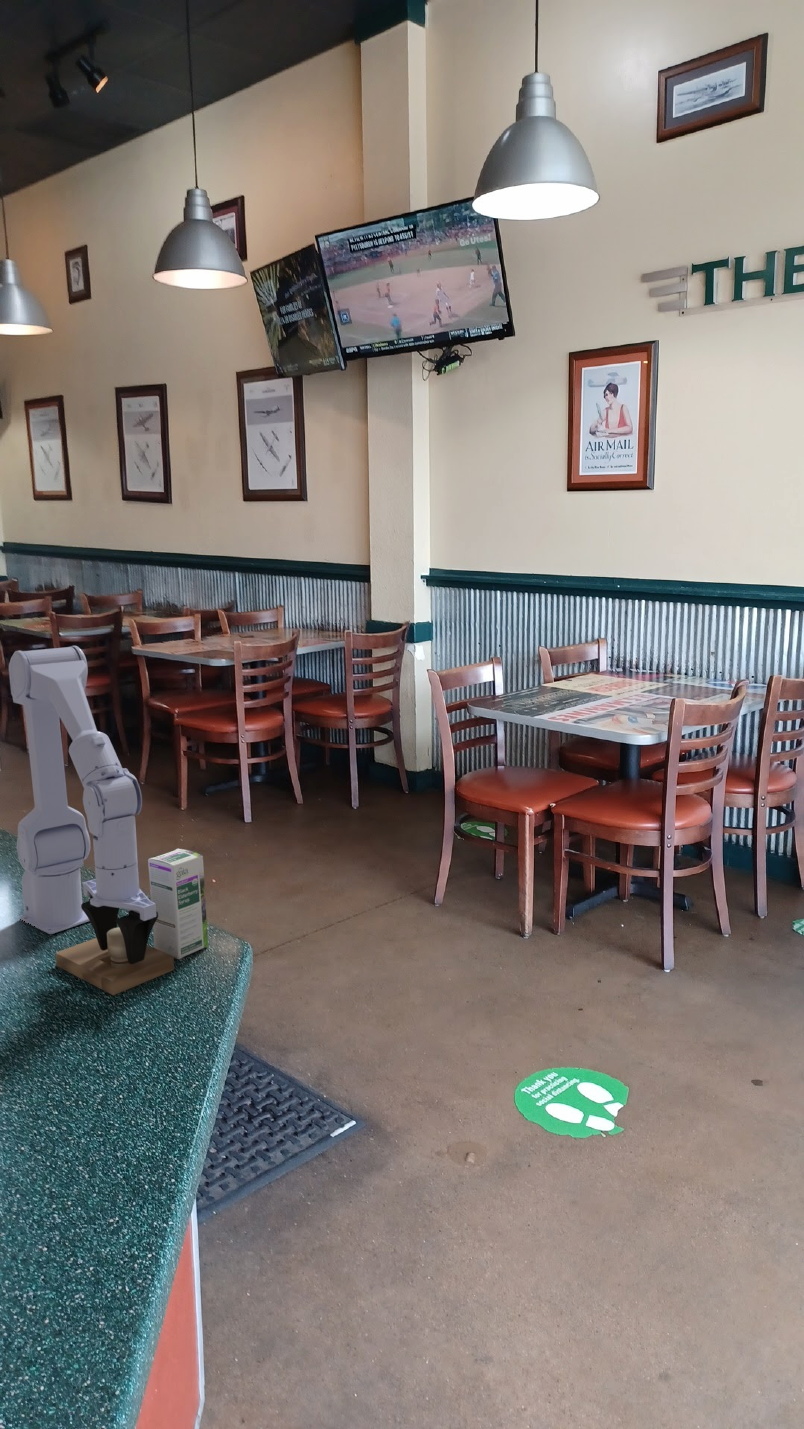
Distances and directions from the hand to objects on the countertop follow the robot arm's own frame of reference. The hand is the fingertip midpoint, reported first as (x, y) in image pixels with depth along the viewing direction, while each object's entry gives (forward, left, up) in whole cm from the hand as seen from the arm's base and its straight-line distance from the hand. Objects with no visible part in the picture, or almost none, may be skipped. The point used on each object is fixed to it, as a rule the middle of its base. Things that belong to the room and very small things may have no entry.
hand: (122, 954), depth 141 cm
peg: (0, 0, -3) cm, 3 cm away
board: (-2, 0, -3) cm, 3 cm away
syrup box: (0, +10, -3) cm, 10 cm away
